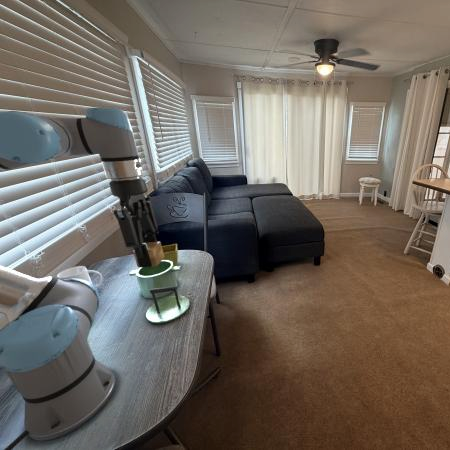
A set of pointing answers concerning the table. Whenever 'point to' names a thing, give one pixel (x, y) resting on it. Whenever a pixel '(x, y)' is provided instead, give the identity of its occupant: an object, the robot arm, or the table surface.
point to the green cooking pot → (156, 278)
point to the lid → (167, 306)
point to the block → (153, 253)
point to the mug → (78, 274)
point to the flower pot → (171, 253)
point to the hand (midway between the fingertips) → (150, 261)
